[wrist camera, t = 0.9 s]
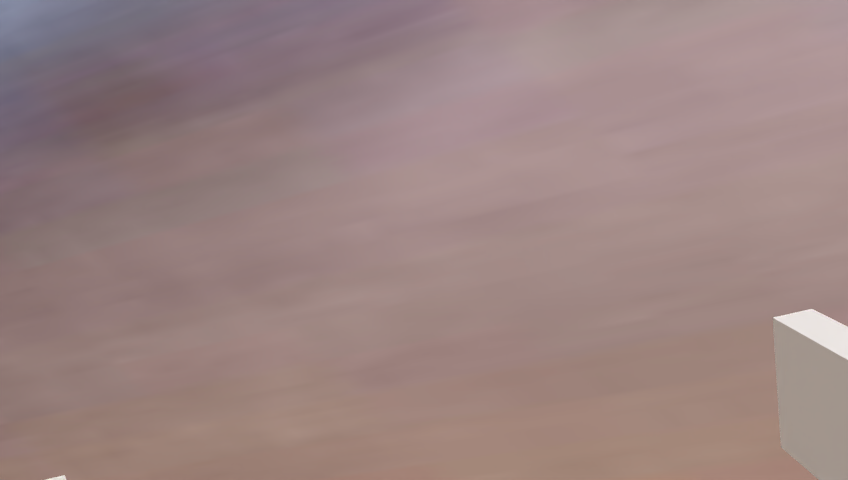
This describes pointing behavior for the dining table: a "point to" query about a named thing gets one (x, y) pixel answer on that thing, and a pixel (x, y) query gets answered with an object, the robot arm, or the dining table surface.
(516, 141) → the dining table surface
